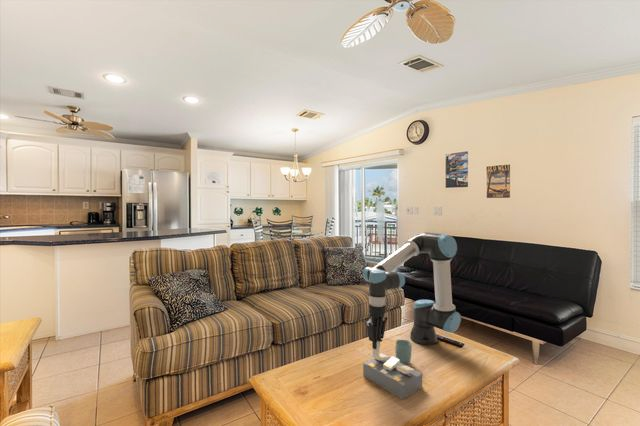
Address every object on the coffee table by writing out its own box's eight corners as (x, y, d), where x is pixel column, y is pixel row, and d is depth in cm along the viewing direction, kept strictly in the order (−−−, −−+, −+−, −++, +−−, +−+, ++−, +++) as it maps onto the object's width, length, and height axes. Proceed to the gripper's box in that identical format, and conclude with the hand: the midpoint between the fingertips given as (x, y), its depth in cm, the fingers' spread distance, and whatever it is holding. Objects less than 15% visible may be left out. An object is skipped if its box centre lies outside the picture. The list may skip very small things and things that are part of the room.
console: (382, 366, 151) (383, 351, 151) (422, 387, 134) (422, 370, 134) (363, 375, 143) (363, 360, 142) (402, 399, 125) (402, 382, 125)
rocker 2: (393, 358, 142) (392, 355, 141) (400, 362, 139) (399, 359, 138) (383, 367, 138) (383, 364, 137) (390, 371, 134) (390, 368, 134)
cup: (411, 367, 151) (412, 347, 150) (395, 365, 152) (396, 345, 152) (410, 359, 158) (410, 340, 158) (395, 357, 160) (395, 338, 159)
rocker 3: (406, 368, 137) (406, 365, 137) (413, 372, 133) (414, 369, 134) (396, 369, 132) (397, 366, 132) (404, 373, 129) (405, 370, 129)
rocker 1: (381, 356, 147) (382, 353, 148) (388, 359, 144) (388, 356, 145) (372, 356, 143) (372, 353, 143) (378, 360, 140) (379, 357, 140)
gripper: (380, 299, 148) (379, 347, 149) (361, 304, 140) (360, 355, 141) (392, 303, 142) (391, 353, 143) (373, 309, 134) (372, 362, 135)
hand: (376, 354), depth 142 cm, fingers closed
